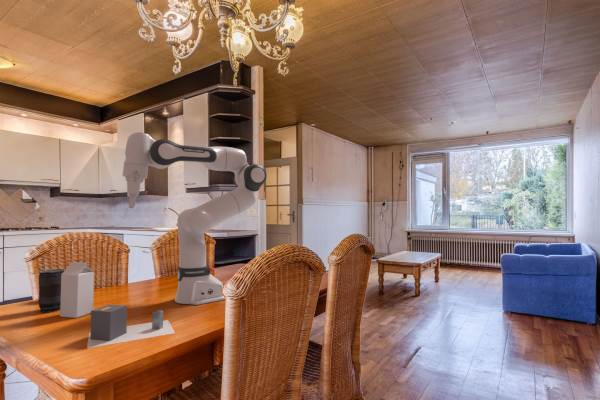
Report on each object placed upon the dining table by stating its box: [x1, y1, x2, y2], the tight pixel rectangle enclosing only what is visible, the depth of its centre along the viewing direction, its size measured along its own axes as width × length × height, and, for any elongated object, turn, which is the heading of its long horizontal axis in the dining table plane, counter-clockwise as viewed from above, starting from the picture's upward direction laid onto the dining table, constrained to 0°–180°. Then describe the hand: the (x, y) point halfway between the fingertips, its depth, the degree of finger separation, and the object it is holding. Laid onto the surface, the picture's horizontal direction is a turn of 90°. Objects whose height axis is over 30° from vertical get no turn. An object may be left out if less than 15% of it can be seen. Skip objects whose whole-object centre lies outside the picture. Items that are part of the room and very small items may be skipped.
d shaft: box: [151, 309, 164, 330], centre depth 102 cm, size 3×3×5 cm
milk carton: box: [59, 261, 95, 319], centre depth 120 cm, size 7×7×19 cm
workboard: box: [86, 319, 176, 349], centre depth 98 cm, size 22×14×2 cm, turn 120°
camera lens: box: [38, 268, 65, 313], centre depth 126 cm, size 8×8×15 cm
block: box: [90, 304, 128, 341], centre depth 95 cm, size 6×6×8 cm
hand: (131, 207), depth 129 cm, fingers open, 8 cm apart
